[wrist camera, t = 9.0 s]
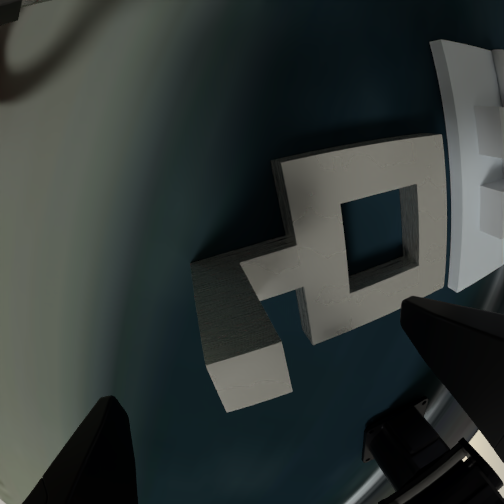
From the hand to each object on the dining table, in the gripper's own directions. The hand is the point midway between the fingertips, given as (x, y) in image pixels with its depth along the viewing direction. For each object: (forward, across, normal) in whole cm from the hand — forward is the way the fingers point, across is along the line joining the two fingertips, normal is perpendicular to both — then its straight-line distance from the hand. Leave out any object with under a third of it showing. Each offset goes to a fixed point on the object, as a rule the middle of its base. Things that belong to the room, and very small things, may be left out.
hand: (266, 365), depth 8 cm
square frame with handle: (+7, -8, 0) cm, 10 cm away
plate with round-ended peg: (+7, -20, -2) cm, 21 cm away
